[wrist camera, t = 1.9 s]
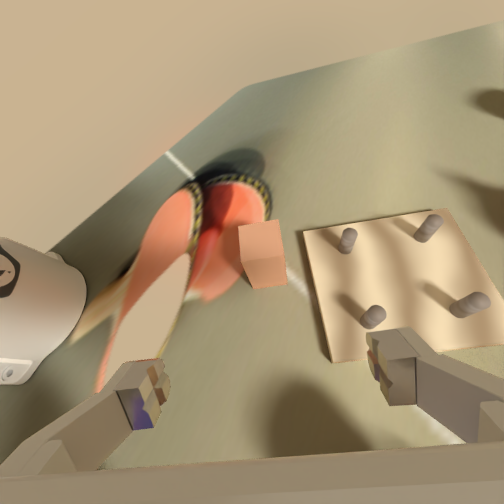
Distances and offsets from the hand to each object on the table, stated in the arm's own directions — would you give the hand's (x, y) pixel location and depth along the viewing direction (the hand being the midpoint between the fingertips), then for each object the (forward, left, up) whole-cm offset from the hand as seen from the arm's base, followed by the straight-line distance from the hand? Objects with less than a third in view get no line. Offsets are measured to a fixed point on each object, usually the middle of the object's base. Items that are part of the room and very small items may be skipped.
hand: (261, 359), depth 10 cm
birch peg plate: (+15, +7, -19) cm, 25 cm away
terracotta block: (+1, +12, -19) cm, 23 cm away
